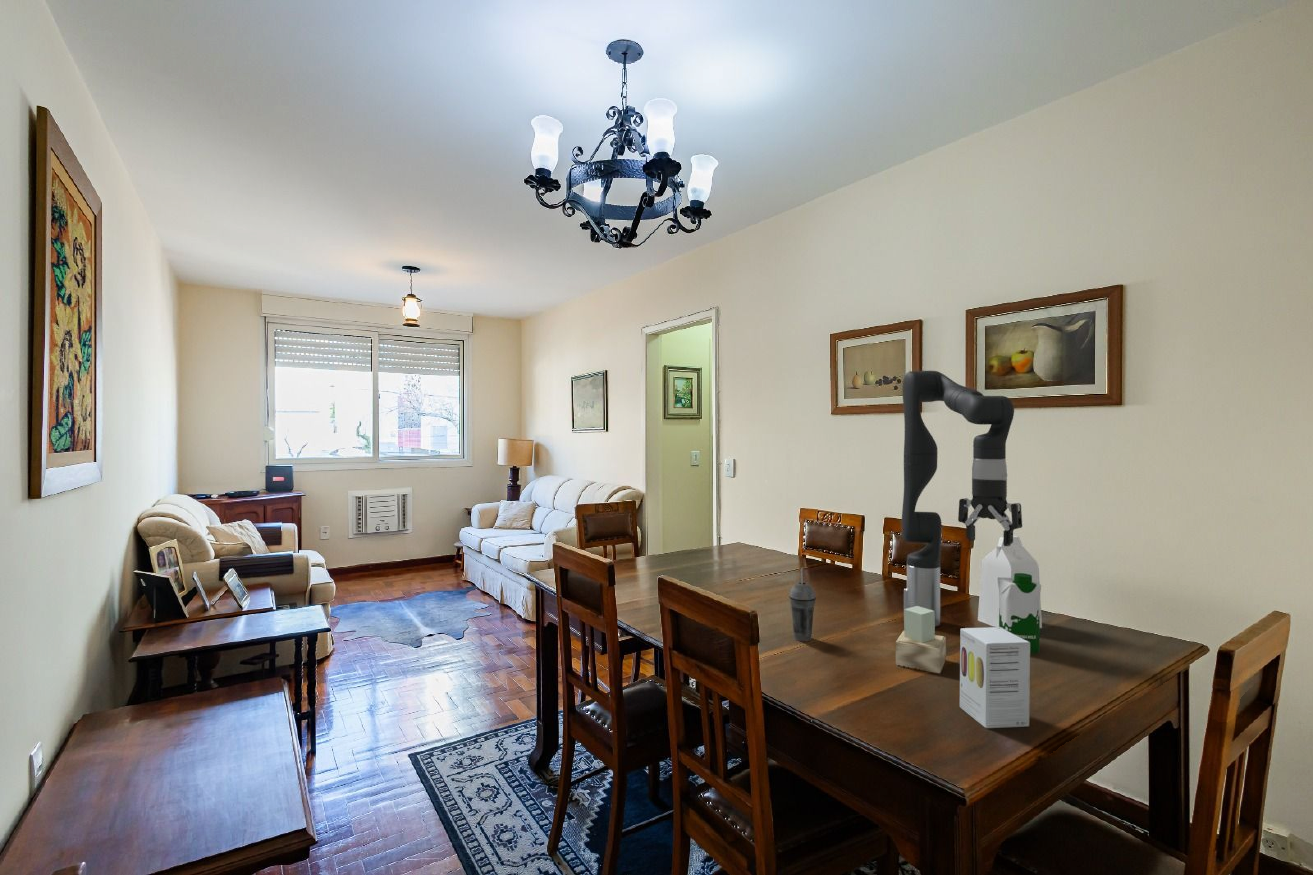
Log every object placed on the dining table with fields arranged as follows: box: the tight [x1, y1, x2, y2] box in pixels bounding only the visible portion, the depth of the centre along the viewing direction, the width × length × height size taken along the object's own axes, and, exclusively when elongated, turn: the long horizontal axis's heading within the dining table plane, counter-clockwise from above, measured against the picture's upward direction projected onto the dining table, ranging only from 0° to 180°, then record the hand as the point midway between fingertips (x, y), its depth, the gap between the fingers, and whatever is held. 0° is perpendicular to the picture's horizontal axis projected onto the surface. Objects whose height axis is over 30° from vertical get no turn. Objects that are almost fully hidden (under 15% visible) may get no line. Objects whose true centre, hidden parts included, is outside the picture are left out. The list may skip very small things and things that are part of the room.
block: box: [903, 606, 936, 643], centre depth 154 cm, size 5×5×7 cm
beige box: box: [895, 630, 947, 674], centre depth 154 cm, size 10×10×6 cm
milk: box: [977, 535, 1043, 629], centre depth 183 cm, size 12×12×26 cm
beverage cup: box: [788, 567, 817, 642], centre depth 171 cm, size 7×7×20 cm
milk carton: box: [998, 573, 1042, 654], centre depth 163 cm, size 9×9×20 cm
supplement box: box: [959, 626, 1031, 729], centre depth 125 cm, size 10×9×17 cm
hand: (989, 543), depth 151 cm, fingers open, 8 cm apart
